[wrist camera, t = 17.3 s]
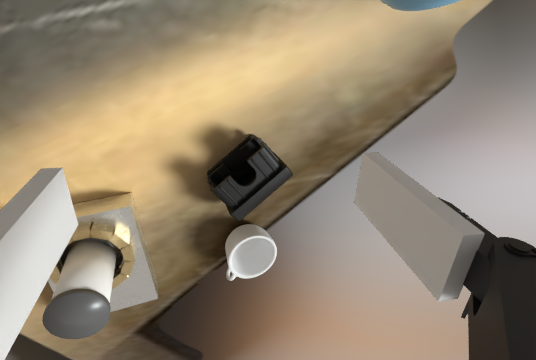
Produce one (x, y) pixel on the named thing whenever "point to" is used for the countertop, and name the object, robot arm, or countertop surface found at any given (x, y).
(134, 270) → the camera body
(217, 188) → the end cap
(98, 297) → the telephoto lens
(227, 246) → the teacup
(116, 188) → the countertop surface
